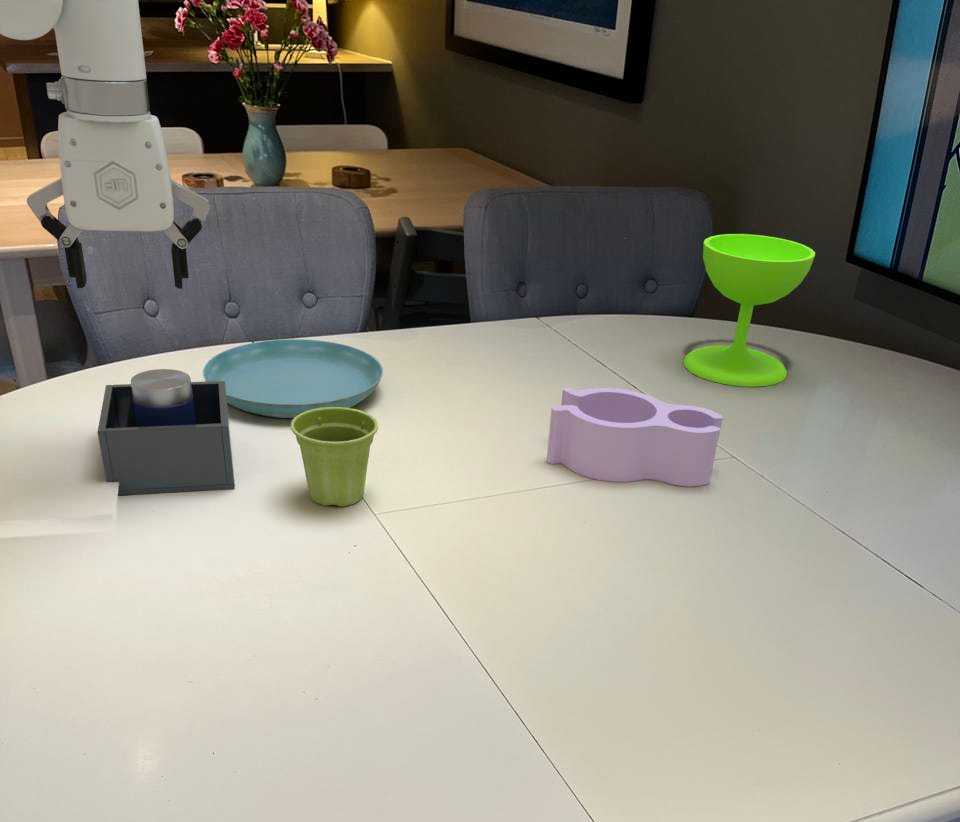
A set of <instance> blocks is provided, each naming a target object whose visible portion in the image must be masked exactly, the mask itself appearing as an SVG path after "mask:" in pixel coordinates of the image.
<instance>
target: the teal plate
mask: <svg viewBox="0 0 960 822" xmlns="http://www.w3.org/2000/svg"><path fill="white" fill-rule="evenodd" d="M383 375H384V369H383V366H382V363H380V361H379V360H378V359H376V358H375V357H374V356H373V355H372V354H370V353H368V352H366V351H364V350H362V349H359V348H357V347H354V346H350V345H346V344H342V343H338V342H332V341H326V340H317V339H304V338H303V339H302V338H301V339H300V338H285V339H284V338H282V339H271V340H263V341H256V342H250V343H246V344H240V345H238V346H234V347H231V348H229V349H226V350H224V351H221V352H220V353H219V352H218V354H216V355H214V356H213V357H211V358H210V359H209V360H208V361H207V362H206V363H205V365H204V367H203V370H202V376H203V378H204V381H205V382H207V381H225V385H226V395H227V404H229V405H231V406H232V407H235V408H237V409H238V410H239V409H240V410H242V411H243V412H248V413H251V414H254V415H258V416H263V417H270V418H279V419H294V418H295V417H296V416H298V415H299V414H301V413H303V412H306V411H309V410H312V409H317V408H325V407H343V408H353V407H354V406H356V405H358V404H359V403H361V402H362V401H364V400H365V399H366V398H368V397H369V396H370V395H371V394H372V393H373V392H374V391H375V389H376V388H377V387H378V385H379V384H380V382H381V380H382V377H383Z"/></svg>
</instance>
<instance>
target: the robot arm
mask: <svg viewBox="0 0 960 822" xmlns="http://www.w3.org/2000/svg"><path fill="white" fill-rule="evenodd" d="M52 30H54V34H55V41H56V47H57V55H58V61H59V68H60V74H61V76H60V78H59V79H58V81H54V82H46V93H47V97H48V99H49V100H57V102H61V104H62V105H64V108H65V110H66V111H64V112H61V113H60V114H58V121H57V122H58V126H57V131H58V132H57V141H58V142H57V143H58V158H59V159H58V160H59V167H60V168H59V170H60V178H58V179H56V180H54V181H52V182H50V183H48V184H47V185H45V186H43V187H42V188H39V189H38V190H36V191H34V192H31V193H30V194H29V195H28V196H27V198H26V204H27V206H28V207H29V208H30V210H31V211H32V213H33V215H34V216H35V218H36V219H38V221H39V222H40V225H41V227H42V228H43V229H44V230H45V231H47V233H49V234H50V235H51V236H52V237H53V238H55V239H56V240H57V241H58V242H59V244H60V246H62V247H63V248H64V253H65V259H66V266H67V271H68V277H69V279H71V278H72V279H73V278H75V284H76V288H77V289H84V288H85V287H86V286H87V285H86V284H87V281H88V278H87V271H86V266H85V257H84V253H83V252H84V251H83V245H82V242H80V240H79V235H80V234H81V233H82V231H83V230H85V231H103V232H105V231H108V232H109V231H110V232H113V231H114V232H160V231H162V232H163V233H164V234H165V235H166V236H167V237H168V238H169V240H171V242H172V243H171V251H170V252H171V261H172V270H173V279H174V288H176V290H177V289H179V290H182V289H183V279H189V265H188V256H187V255H188V254H187V247H188V246H189V244H190V243H191V242H192V241H193V239H194V238H196V236H197V235H198V234H199V233H200V232H201V231H202V228H203V226H204V223H205V221H206V219H207V217H208V214H209V212H210V209H211V202H210V200H209V199H208V198H206V197H204V196H203V195H201V194H199V193H197V192H196V191H193V190H191V189H190V188H188V187H186V186H184V185H182V184H180V183H178V182H176V181H175V180H173V179H172V178H171V171H170V170H171V169H170V164H169V158H168V153H167V147H166V143H165V139H164V135H163V134H164V133H163V131H162V127H161V123H160V120H159V118H158V116H156V115H153V114H151V107H150V98H149V89H148V80H147V70H146V60H145V52H144V42H143V34H142V23H141V14H140V6H139V0H0V35H1V36H4V37H7V38H9V39H13V40H18V41H19V40H20V41H31V40H35V39H38V38H41V37H43V36H45V35H46V34H47V33H49V32H50V31H52ZM60 197H63V203H64V208H65V214H66V218H67V220H68V222H67V224H66V225H65V224H64V223H63V222H62V221H60V220H59V219H58V218H57V217H56V216H54V215H53V214H52V212H51V211H50V209H49V207H48V204H49V203H50V202H52V201H54V200H56V199H58V198H60ZM174 199H176V200H178V201H180V202H182V203H183V204H186V205H187V206H189V207H191V208H192V209H193V212H192V215H191V217H190V218H189V220H187V222H186V223H185V224H184V225H183V226H181V225H180V224H179V223H178V222H177V221H176V219H175V205H174Z"/></svg>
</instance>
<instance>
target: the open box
mask: <svg viewBox="0 0 960 822" xmlns="http://www.w3.org/2000/svg"><path fill="white" fill-rule="evenodd" d="M191 386H192V394H193V399H194V407H195V416H196V424H197V425H175V426H153V427H137V421H136V415H135V409H134V402H133V393H132V387H131V383H127V384H126V383H125V384H124V383H123V384H106V385H105V388H104V394H103V399H102V404H101V410H100V416H99V422H98V427H97V437H98V443H99V449H100V454H101V460H102V464H103V470H104V471H103V472H104V475H105V476H104V477H105V482H106V483H118V488H117V489H118V490H117V496H130V495H132V496H133V495H148V494H149V495H150V494H164V493H166V494H167V493H179V492H180V493H182V492H199V491H217V490H235V489H236V484H235V472H234V460H233V459H234V458H233V448H232V435H231V426H230V417H229V406H228V403H227V395H226V385H225V381H207V382H206V381H191Z"/></svg>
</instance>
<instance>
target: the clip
mask: <svg viewBox="0 0 960 822" xmlns="http://www.w3.org/2000/svg"><path fill="white" fill-rule="evenodd" d="M561 393H562V394H561V403H560V405H554V406H551V410H550V411H551V412H550V419H549V420H550V421H549V429H548V442H547V452H546V463H548V464H550V465H555V464H562V465H564V467H566V468H567V469H569V470H570V471H572V472H574V473H576V474H578V475H580V476H583V477H586V478H590V479H592V480H598V481H603V482H612V483H613V482H615V483H627V482H636V481H642V480H643V481H644V480H652V481H659V482H663V483H665V484H669V485H673V486H678V487H687V488H688V487H690V488H692V487H693V488H694V487H703V486H706V485H708V484H710V483H711V476H712V471H713V469H714V468H713V467H714V463H715V459H716V453H717V448H718V443H719V438H720V432H721V428H722V423H723V418H724V417H723V415H721V414H720V413H718V412H716V411H713V410H711V409H709V408H705V407H701V406H695V405H688V404H674V403H673V404H671V403H667V402H664V401H661V400H659V399H657V398H655V397H653V396H651V395H649V394H646V393H642V392H639V391H635V390H630V389H624V388H614V387H613V388H612V387H597V388H587V389H583V390H576V389H575V388H572V387H564V388H562V392H561Z"/></svg>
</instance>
